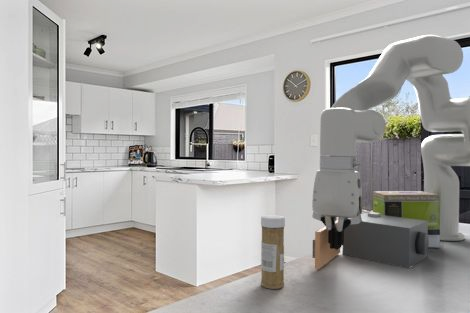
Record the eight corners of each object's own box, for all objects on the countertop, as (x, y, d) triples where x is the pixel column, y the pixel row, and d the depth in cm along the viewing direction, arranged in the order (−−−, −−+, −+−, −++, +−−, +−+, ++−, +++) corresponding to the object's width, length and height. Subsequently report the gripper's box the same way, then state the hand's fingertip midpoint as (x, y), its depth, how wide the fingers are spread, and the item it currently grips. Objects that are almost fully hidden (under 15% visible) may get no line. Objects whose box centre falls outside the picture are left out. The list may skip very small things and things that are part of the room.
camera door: (340, 252, 92) (340, 220, 92) (319, 269, 78) (319, 232, 78) (333, 251, 93) (333, 219, 93) (311, 267, 79) (311, 231, 79)
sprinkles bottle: (289, 286, 69) (289, 216, 69) (270, 291, 67) (271, 218, 67) (273, 279, 73) (274, 213, 73) (255, 284, 71) (256, 215, 70)
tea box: (423, 240, 108) (423, 190, 108) (440, 249, 98) (441, 194, 98) (371, 239, 109) (372, 189, 109) (384, 247, 99) (384, 193, 99)
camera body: (364, 244, 102) (365, 209, 101) (433, 257, 89) (433, 218, 89) (342, 254, 92) (343, 215, 92) (415, 269, 80) (416, 225, 80)
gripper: (376, 165, 79) (375, 249, 79) (311, 163, 87) (310, 239, 87) (367, 166, 73) (366, 257, 73) (298, 164, 81) (297, 246, 81)
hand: (335, 247), depth 80 cm, fingers closed
